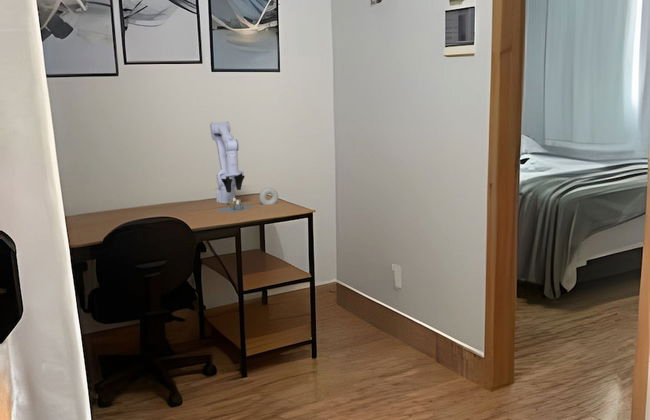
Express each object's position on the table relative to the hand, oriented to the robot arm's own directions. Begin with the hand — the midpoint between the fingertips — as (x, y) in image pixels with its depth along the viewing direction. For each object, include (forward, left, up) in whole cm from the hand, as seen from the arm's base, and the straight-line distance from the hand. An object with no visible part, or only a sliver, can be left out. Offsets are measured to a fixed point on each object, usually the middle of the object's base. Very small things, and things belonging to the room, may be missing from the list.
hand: (233, 191), depth 317 cm
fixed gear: (+6, -4, -8) cm, 11 cm away
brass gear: (+1, 0, -8) cm, 8 cm away
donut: (+11, +14, -10) cm, 20 cm away
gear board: (+3, -3, -10) cm, 10 cm away
